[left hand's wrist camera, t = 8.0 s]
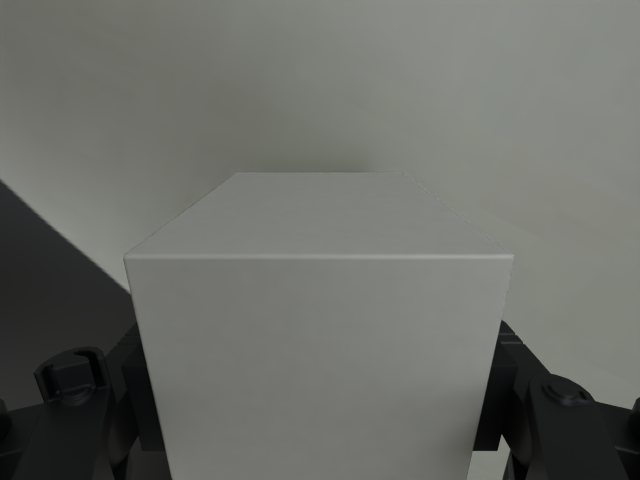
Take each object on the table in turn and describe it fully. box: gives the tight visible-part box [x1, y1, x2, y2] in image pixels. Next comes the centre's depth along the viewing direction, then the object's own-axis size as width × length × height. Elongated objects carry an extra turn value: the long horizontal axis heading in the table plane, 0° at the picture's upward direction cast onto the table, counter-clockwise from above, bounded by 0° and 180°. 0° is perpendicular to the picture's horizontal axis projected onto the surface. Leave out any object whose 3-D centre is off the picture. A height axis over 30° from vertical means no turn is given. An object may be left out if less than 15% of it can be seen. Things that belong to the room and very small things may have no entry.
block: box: [123, 172, 514, 480], centre depth 12 cm, size 8×8×10 cm
